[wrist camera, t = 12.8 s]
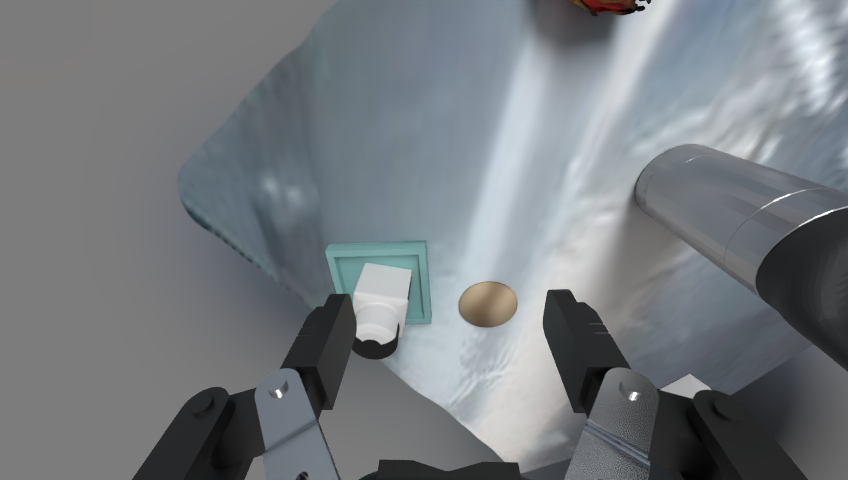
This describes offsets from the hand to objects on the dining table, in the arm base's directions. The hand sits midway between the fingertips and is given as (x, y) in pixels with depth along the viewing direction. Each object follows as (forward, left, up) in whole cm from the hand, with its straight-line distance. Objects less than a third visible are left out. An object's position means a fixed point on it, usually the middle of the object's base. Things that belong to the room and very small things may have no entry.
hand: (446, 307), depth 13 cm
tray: (+10, +20, -28) cm, 36 cm away
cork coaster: (-6, +25, -28) cm, 38 cm away
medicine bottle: (+9, +20, -28) cm, 35 cm away
